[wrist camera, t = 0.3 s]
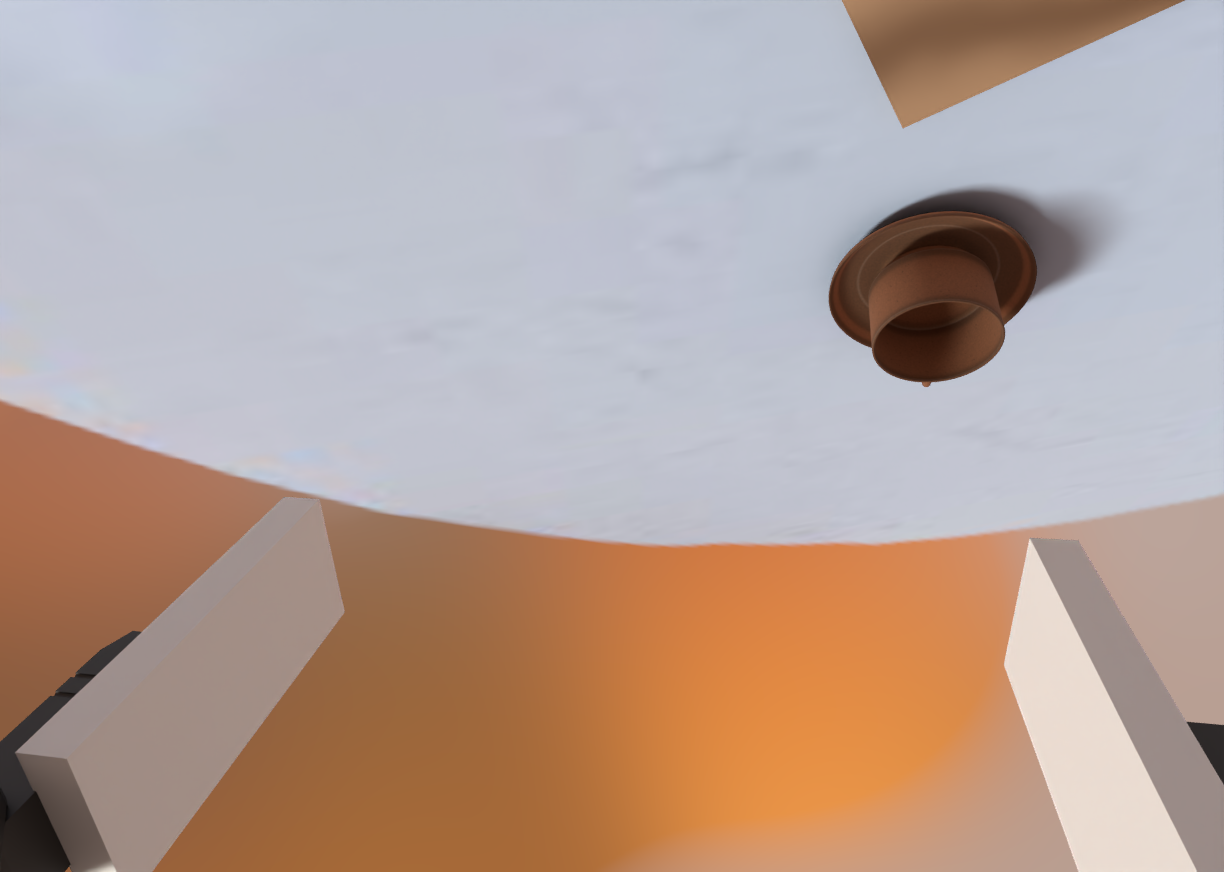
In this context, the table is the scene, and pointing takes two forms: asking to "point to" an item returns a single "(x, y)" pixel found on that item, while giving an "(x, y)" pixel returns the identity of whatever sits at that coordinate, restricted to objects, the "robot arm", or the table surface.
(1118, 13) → the walnut board
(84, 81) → the table surface
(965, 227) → the cup and saucer
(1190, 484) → the table surface
